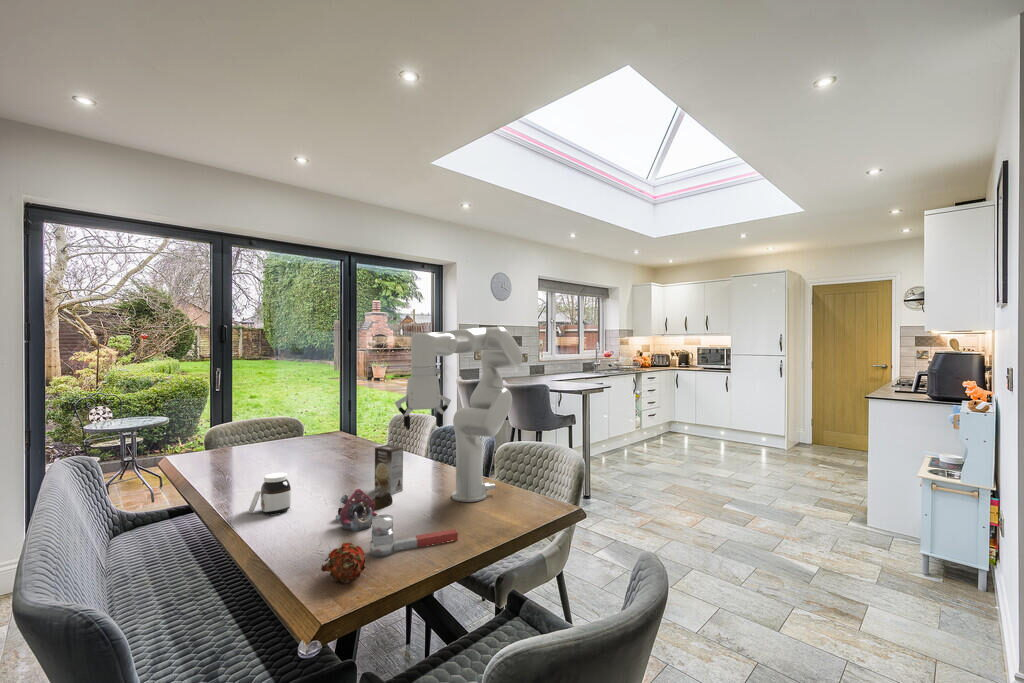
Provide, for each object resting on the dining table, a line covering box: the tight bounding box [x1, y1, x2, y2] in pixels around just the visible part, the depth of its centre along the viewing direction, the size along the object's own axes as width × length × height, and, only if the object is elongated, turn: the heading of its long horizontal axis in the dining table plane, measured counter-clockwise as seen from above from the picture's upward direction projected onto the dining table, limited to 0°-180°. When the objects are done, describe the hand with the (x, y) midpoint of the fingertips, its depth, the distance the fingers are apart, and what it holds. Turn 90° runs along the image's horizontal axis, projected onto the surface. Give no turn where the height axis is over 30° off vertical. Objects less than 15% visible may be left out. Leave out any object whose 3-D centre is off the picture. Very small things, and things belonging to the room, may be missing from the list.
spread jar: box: [247, 472, 292, 516], centre depth 146 cm, size 12×11×12 cm
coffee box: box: [374, 444, 404, 495], centre depth 168 cm, size 9×6×16 cm
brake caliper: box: [335, 488, 378, 532], centre depth 135 cm, size 11×11×12 cm
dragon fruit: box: [320, 542, 367, 584], centre depth 104 cm, size 8×8×12 cm
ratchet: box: [369, 528, 459, 559], centre depth 121 cm, size 23×6×5 cm, turn 115°
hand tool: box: [337, 493, 393, 515], centre depth 146 cm, size 19×4×5 cm, turn 138°
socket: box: [371, 513, 395, 547], centre depth 117 cm, size 5×5×6 cm
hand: (423, 427), depth 140 cm, fingers open, 9 cm apart
